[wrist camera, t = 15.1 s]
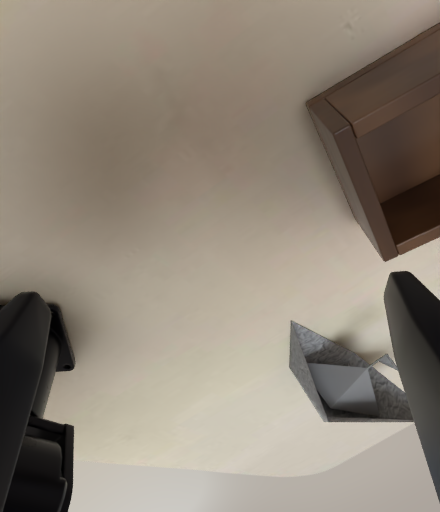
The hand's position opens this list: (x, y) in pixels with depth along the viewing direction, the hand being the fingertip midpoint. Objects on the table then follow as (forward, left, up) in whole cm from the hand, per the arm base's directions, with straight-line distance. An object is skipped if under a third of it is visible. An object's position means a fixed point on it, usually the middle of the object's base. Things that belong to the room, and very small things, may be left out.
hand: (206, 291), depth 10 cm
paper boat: (-18, -12, -12) cm, 25 cm away
